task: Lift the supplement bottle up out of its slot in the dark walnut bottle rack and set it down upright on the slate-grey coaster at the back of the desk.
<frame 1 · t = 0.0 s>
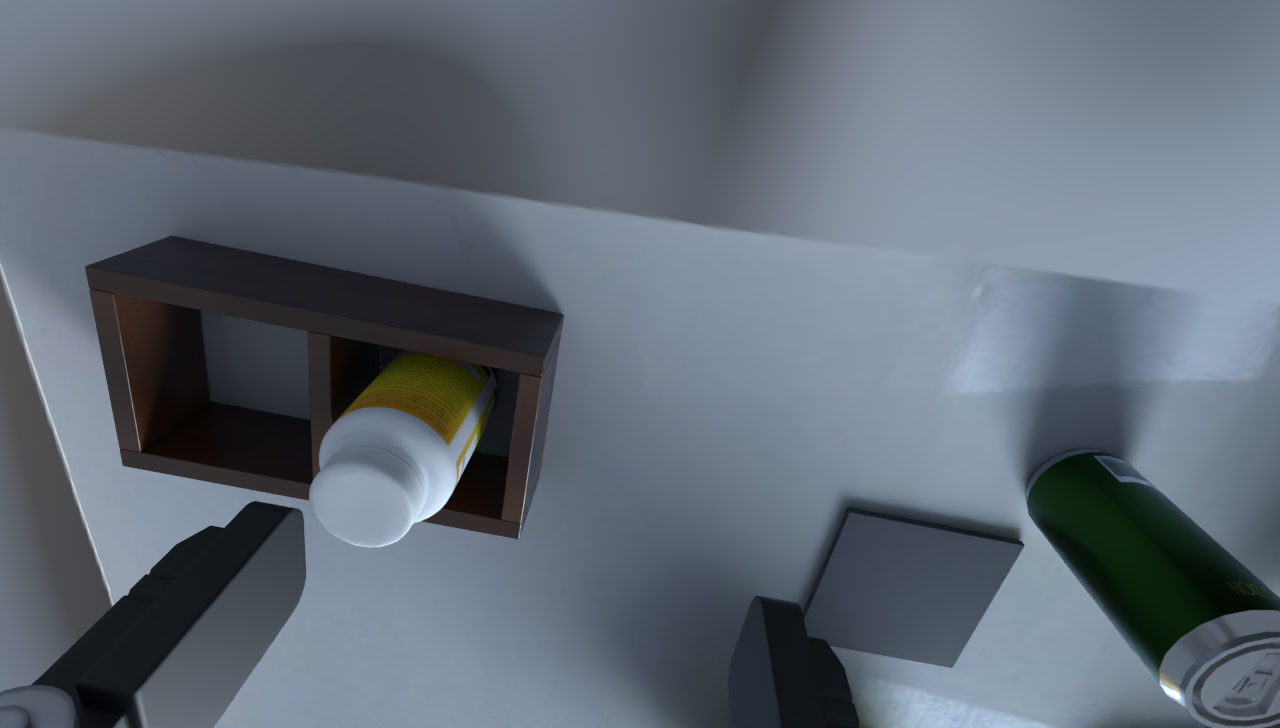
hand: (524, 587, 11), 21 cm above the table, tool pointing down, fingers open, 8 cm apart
beer can: (1071, 484, 34), on the table
supplement bottle: (449, 380, 33), resting in bottle rack
coaster: (901, 589, 38), on the table
bottle rack: (369, 366, 33), on the table
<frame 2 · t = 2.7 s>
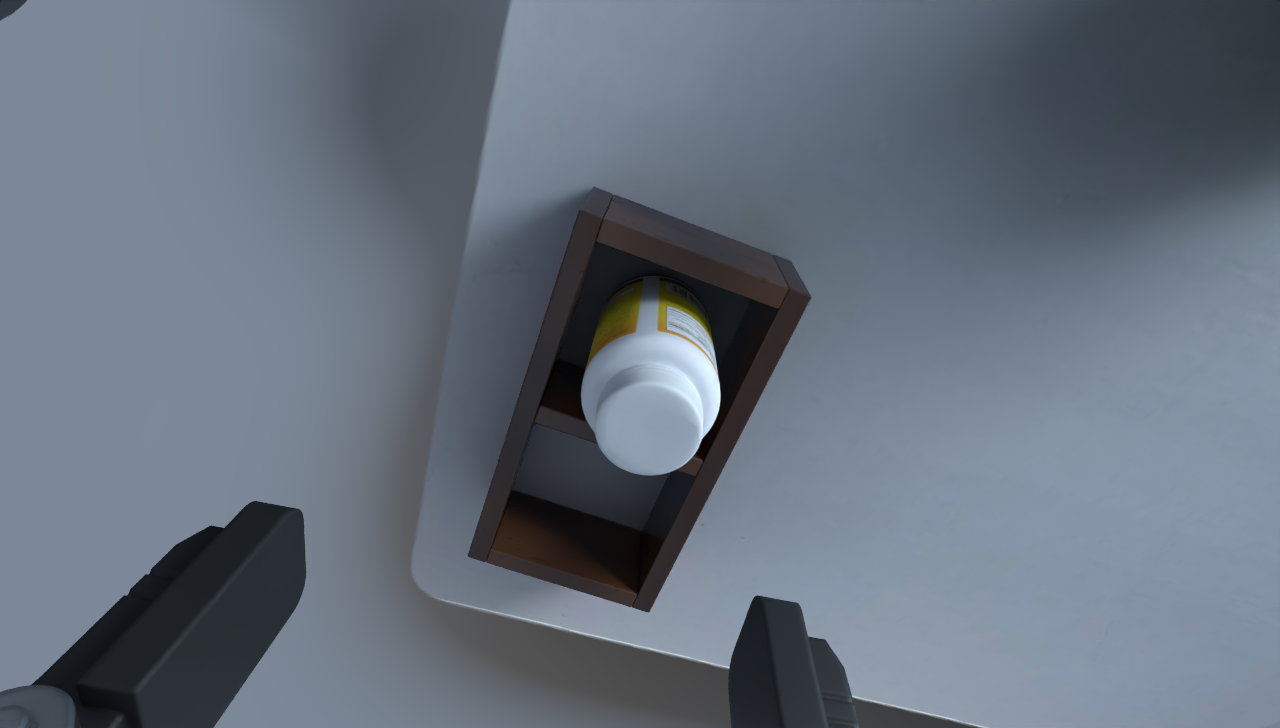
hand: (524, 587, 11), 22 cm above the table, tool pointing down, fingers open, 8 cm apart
supplement bottle: (655, 323, 33), resting in bottle rack
bottle rack: (626, 391, 34), on the table
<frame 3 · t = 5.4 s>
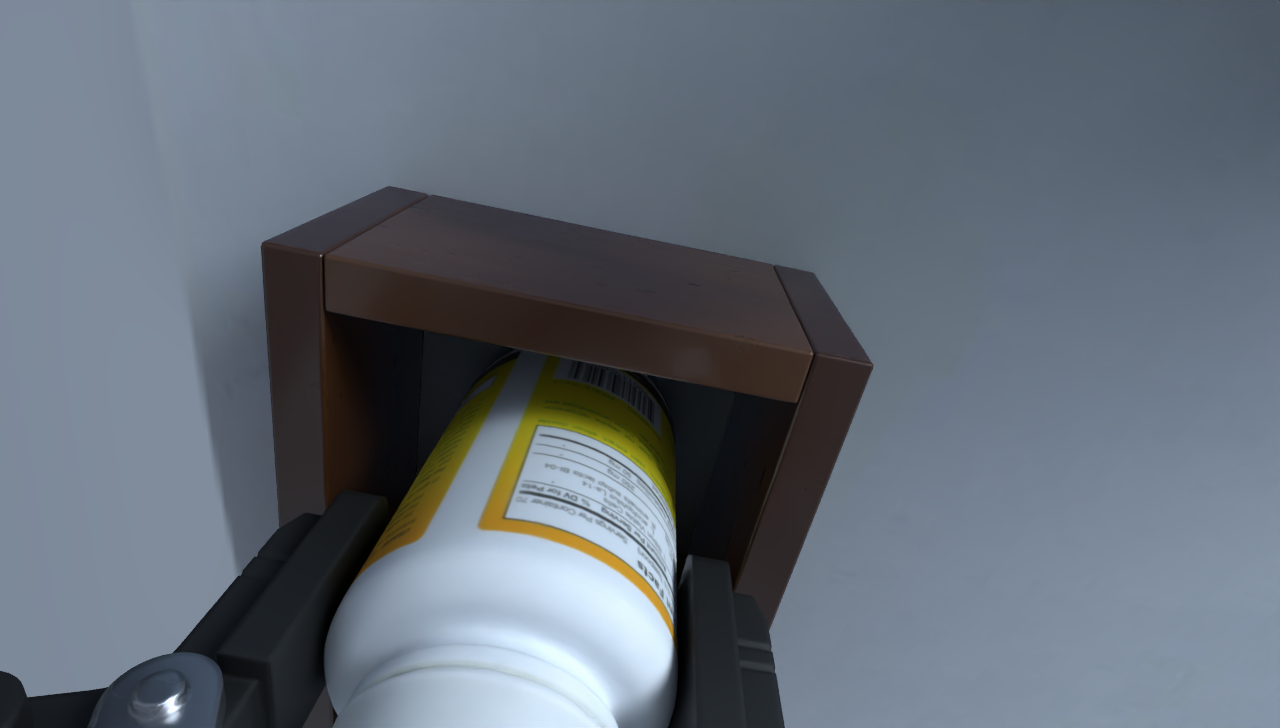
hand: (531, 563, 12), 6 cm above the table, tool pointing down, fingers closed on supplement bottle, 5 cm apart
supplement bottle: (573, 423, 17), resting in bottle rack, touching gripper
bottle rack: (549, 543, 19), on the table
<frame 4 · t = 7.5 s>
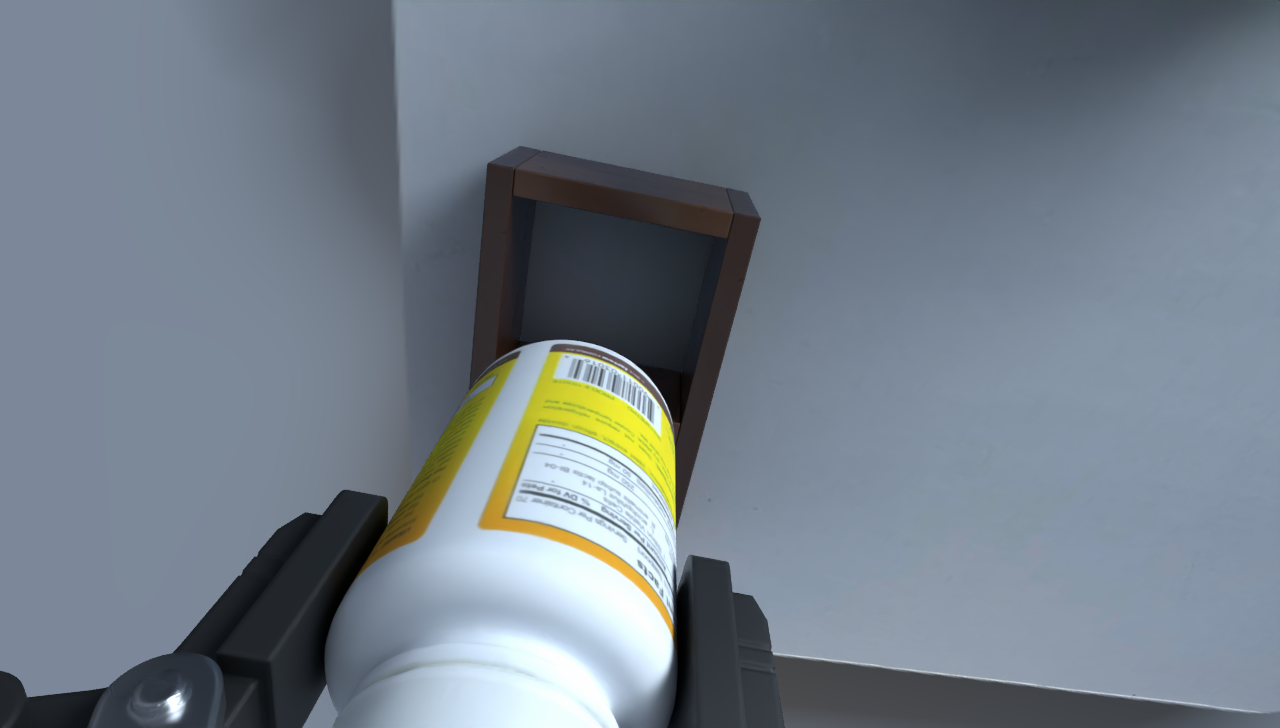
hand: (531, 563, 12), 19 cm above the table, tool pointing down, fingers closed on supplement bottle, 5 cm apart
supplement bottle: (573, 423, 17), point 14 cm above the table, touching gripper
bottle rack: (599, 365, 32), on the table
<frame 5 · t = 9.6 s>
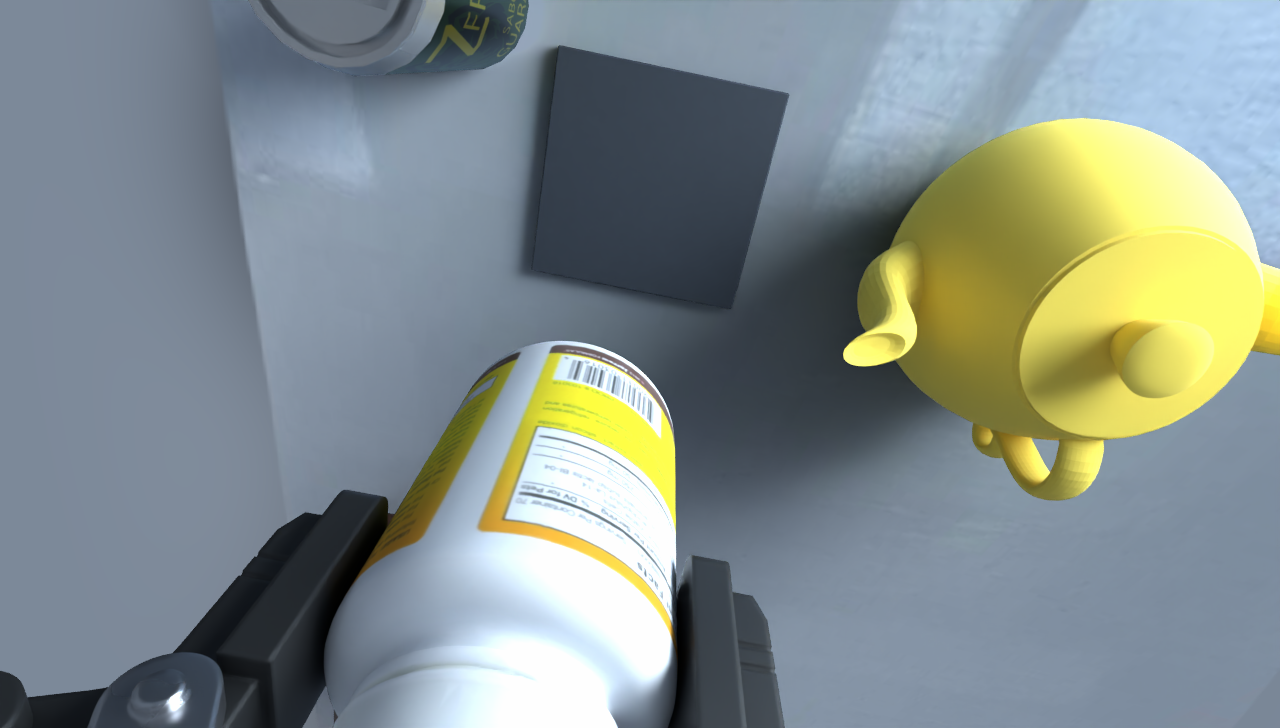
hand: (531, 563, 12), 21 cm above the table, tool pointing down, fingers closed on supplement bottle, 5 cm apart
supplement bottle: (573, 424, 17), point 16 cm above the table, touching gripper
coaster: (652, 186, 30), on the table
teapot: (994, 277, 31), on the table
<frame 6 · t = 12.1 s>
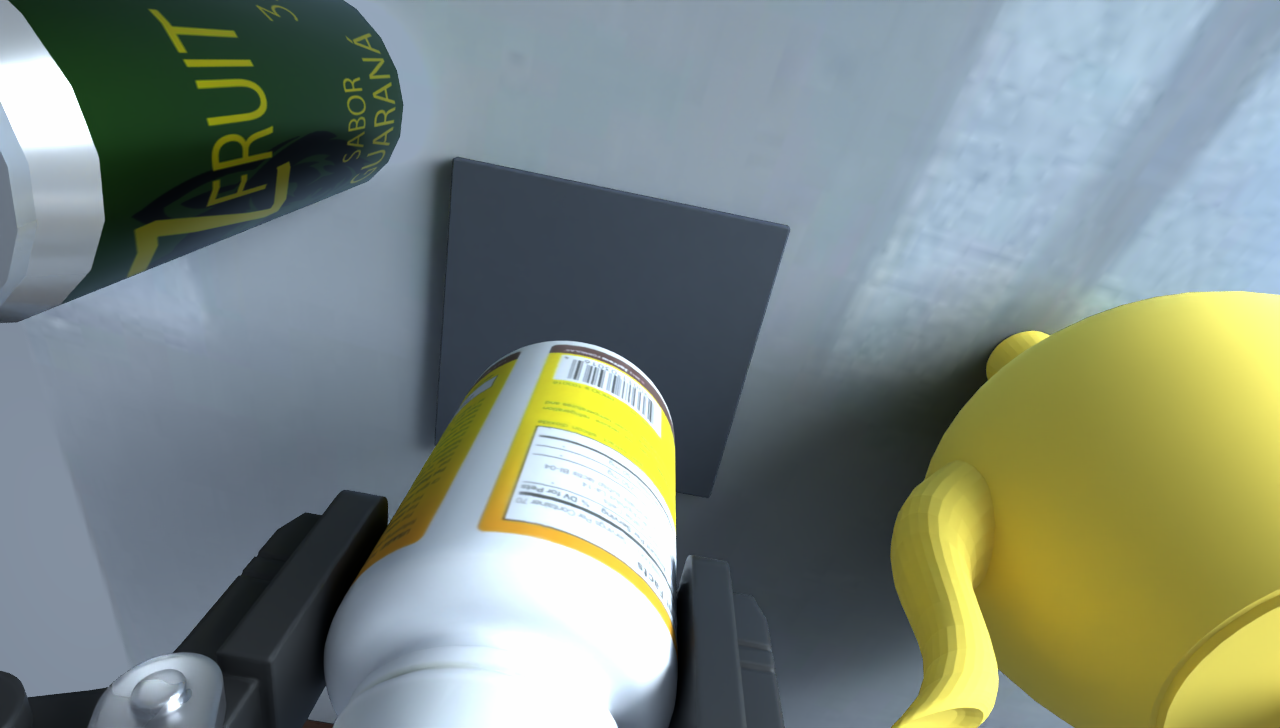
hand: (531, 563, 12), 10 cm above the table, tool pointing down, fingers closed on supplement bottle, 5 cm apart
beer can: (322, 90, 18), on the table
supplement bottle: (573, 423, 17), point 4 cm above the table, touching gripper
coaster: (596, 342, 21), on the table
teapot: (1072, 461, 22), on the table
when the fingers open (6 cm above the table, at t = 13.8 s): supplement bottle stays where it is, resting on coaster.
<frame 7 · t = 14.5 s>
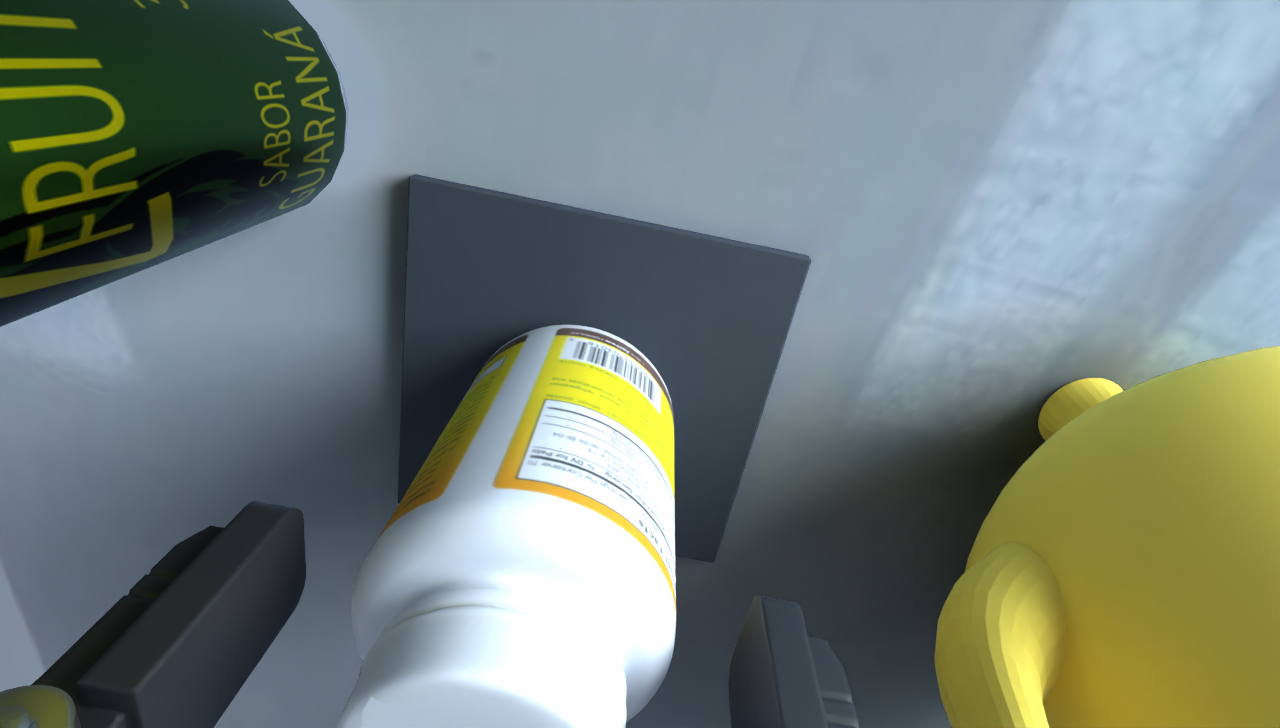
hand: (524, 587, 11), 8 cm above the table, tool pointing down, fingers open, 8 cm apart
beer can: (253, 96, 15), on the table
supplement bottle: (577, 405, 18), resting on coaster
coaster: (583, 388, 18), on the table
teapot: (1133, 523, 19), on the table
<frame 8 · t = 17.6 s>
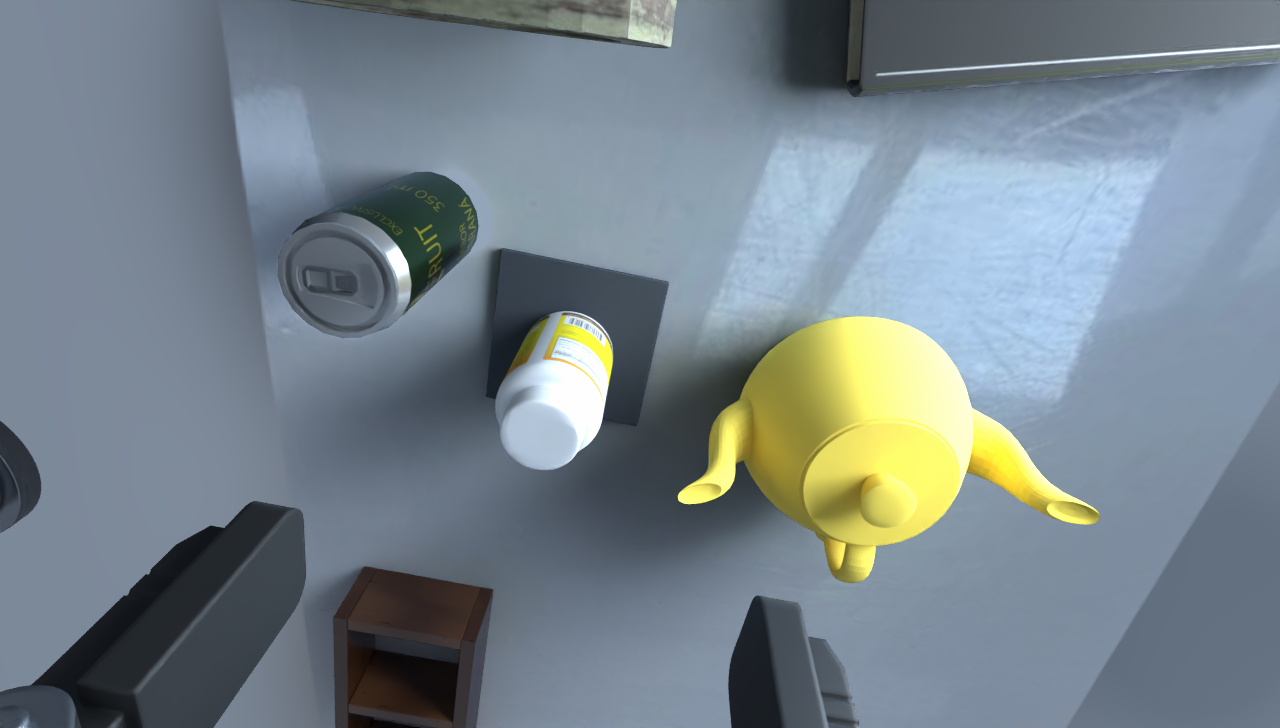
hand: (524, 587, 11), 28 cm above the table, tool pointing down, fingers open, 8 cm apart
beer can: (437, 216, 37), on the table
supplement bottle: (571, 348, 40), resting on coaster
coaster: (573, 340, 40), on the table
bottle rack: (423, 662, 53), on the table
teapot: (831, 405, 41), on the table
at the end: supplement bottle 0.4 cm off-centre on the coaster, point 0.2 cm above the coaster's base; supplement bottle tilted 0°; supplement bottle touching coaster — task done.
